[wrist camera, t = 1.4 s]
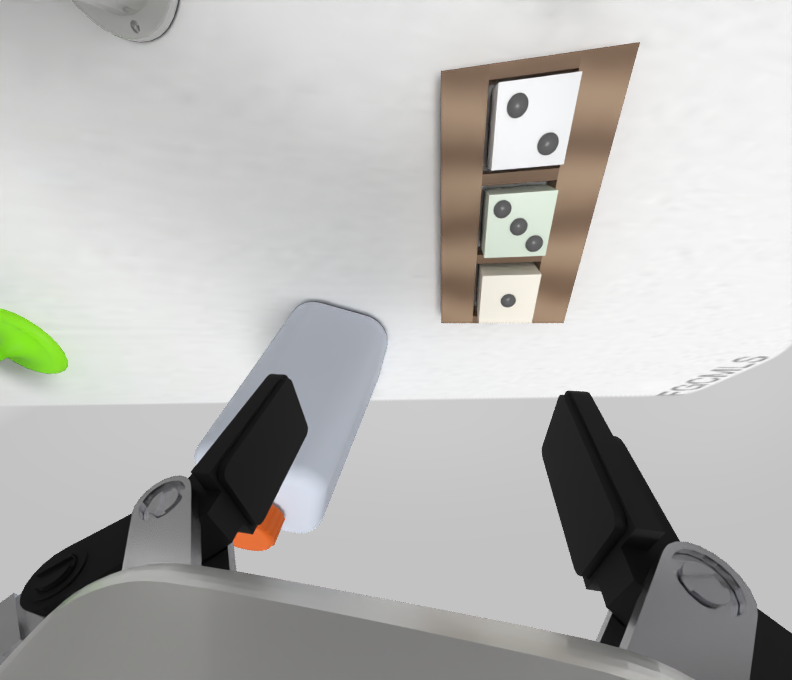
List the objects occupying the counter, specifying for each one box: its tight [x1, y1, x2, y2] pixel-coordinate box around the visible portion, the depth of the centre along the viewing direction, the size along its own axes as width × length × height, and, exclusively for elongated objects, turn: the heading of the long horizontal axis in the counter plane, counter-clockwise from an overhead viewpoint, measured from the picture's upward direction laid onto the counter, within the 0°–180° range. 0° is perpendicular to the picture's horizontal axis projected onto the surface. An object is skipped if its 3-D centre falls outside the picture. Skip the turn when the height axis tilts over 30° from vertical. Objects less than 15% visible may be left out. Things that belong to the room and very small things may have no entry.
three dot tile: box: [481, 184, 558, 258], centre depth 30 cm, size 6×6×4 cm
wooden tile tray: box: [441, 42, 640, 323], centre depth 32 cm, size 25×15×3 cm, turn 5°
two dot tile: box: [487, 71, 582, 171], centre depth 25 cm, size 6×6×4 cm
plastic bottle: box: [194, 302, 387, 551], centre depth 36 cm, size 15×15×28 cm
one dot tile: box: [476, 262, 542, 323], centre depth 34 cm, size 6×6×4 cm
